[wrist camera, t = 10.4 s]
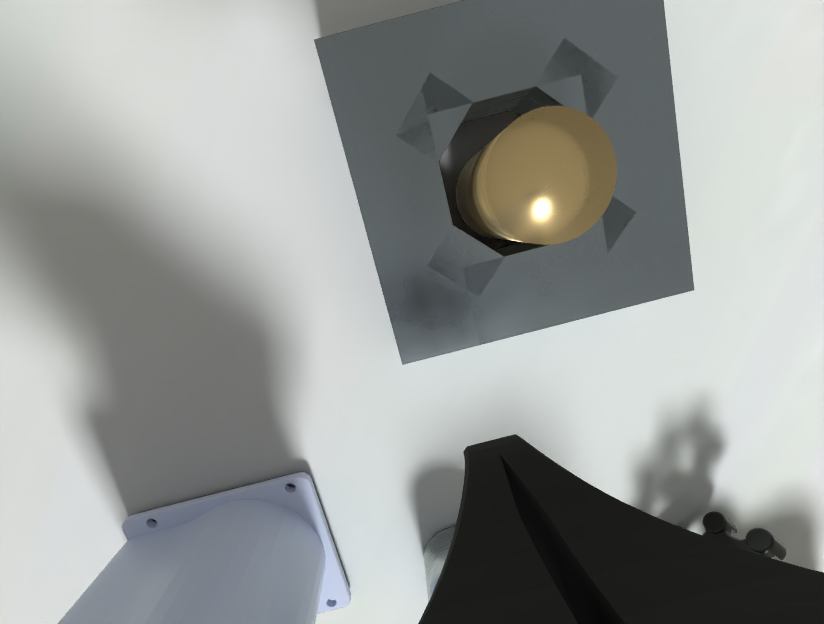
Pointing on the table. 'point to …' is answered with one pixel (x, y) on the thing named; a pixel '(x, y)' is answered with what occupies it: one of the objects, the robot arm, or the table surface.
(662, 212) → the plate
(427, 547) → the sleeve
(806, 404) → the table surface
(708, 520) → the valve
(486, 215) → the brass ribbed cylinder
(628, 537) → the robot arm
